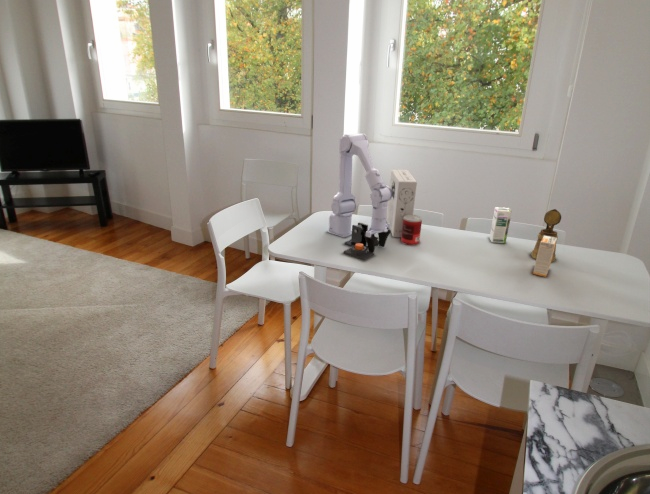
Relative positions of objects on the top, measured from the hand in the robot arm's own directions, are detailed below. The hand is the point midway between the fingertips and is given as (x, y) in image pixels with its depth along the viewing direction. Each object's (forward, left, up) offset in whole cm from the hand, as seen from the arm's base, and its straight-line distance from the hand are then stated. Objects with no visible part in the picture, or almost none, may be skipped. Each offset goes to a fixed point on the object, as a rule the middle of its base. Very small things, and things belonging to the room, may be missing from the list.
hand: (376, 248), depth 190 cm
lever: (-5, 0, +3) cm, 6 cm away
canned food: (+5, +18, -1) cm, 19 cm away
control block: (-3, -9, -1) cm, 9 cm away
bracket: (-9, 0, -1) cm, 9 cm away
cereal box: (-7, +28, -1) cm, 29 cm away
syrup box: (+32, +46, -1) cm, 56 cm away
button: (-3, -8, +2) cm, 9 cm away
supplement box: (+56, +26, -1) cm, 62 cm away
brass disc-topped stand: (+52, +43, -1) cm, 68 cm away
